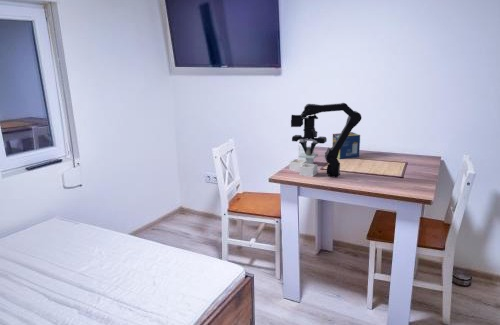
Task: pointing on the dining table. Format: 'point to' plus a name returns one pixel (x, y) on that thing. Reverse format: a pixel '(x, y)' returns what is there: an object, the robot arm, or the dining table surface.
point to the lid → (308, 154)
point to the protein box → (348, 146)
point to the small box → (301, 151)
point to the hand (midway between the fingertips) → (308, 153)
